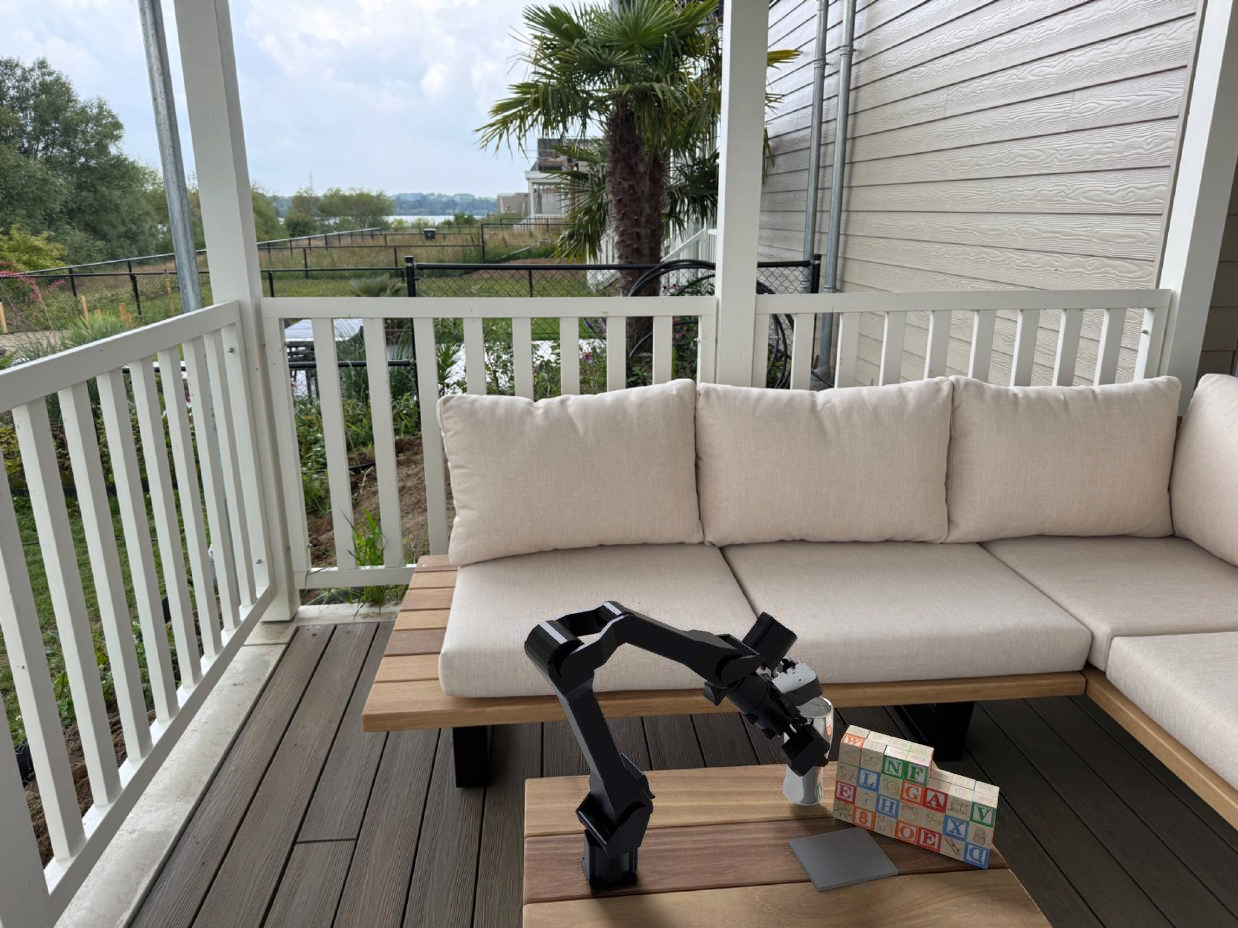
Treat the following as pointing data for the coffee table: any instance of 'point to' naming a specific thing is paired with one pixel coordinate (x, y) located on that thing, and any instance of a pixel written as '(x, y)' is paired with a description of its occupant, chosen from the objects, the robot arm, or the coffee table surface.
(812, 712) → the chrome tapered cup
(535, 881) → the coffee table surface
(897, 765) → the stack of blocks
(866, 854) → the charcoal mat
